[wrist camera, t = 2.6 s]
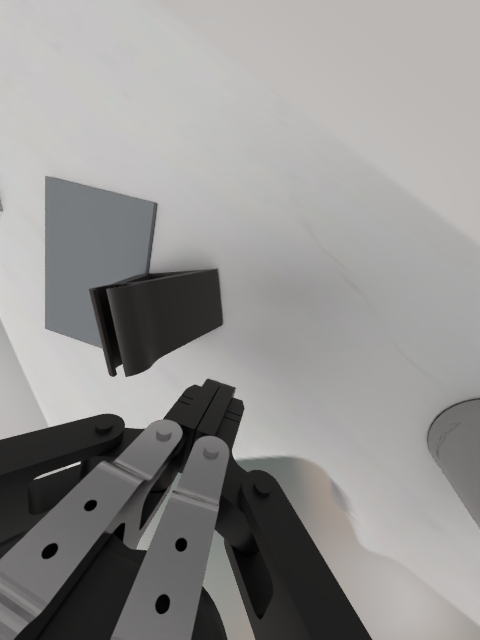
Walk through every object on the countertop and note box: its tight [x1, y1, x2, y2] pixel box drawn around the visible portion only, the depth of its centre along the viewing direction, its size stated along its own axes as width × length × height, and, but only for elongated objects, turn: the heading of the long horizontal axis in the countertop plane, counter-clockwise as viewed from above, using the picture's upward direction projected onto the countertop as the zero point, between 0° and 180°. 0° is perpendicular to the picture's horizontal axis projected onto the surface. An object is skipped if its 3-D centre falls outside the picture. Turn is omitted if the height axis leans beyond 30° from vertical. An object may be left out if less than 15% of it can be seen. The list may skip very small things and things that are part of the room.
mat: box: [45, 176, 157, 349], centre depth 29 cm, size 13×18×1 cm
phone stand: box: [89, 269, 222, 377], centre depth 22 cm, size 9×6×12 cm, turn 94°
